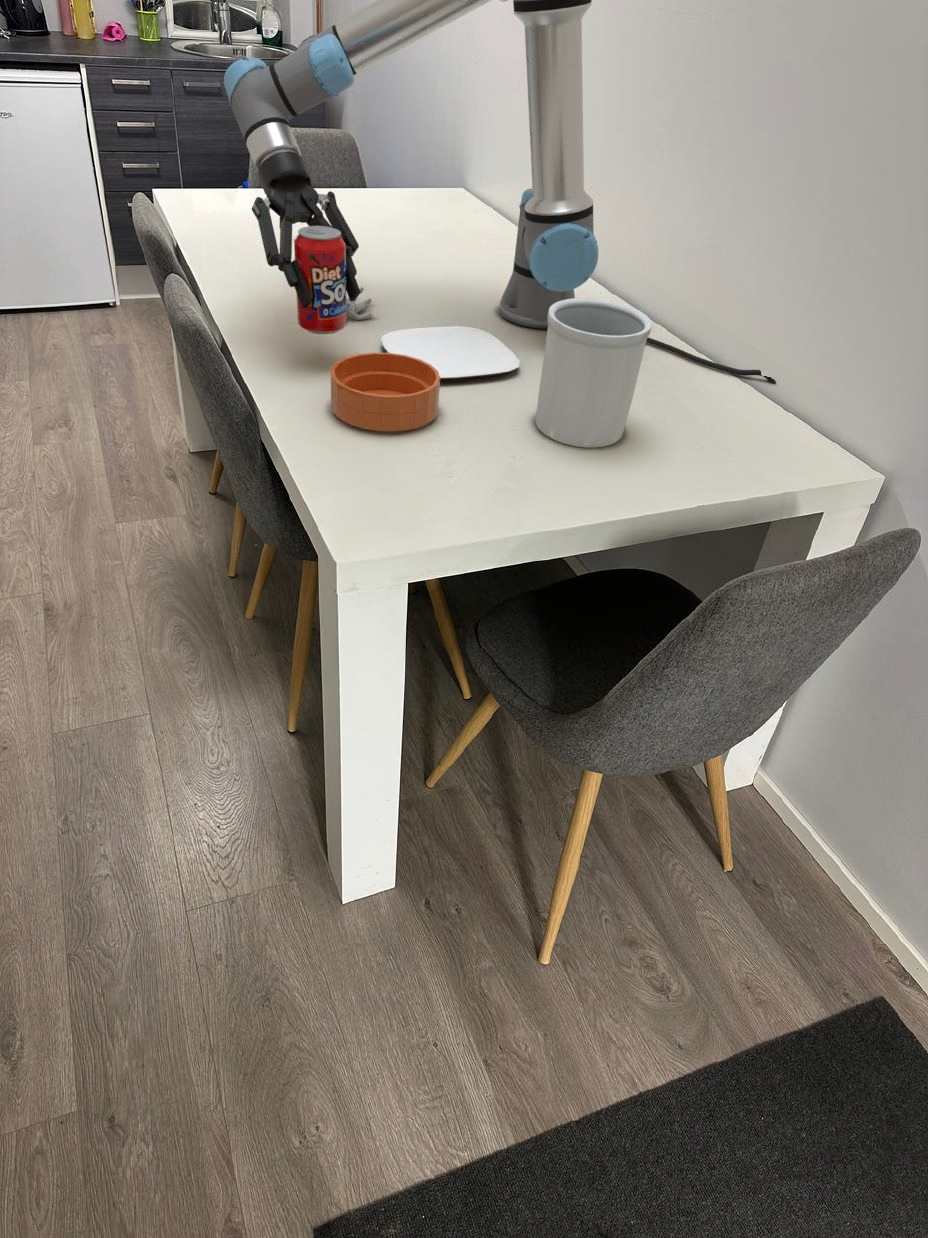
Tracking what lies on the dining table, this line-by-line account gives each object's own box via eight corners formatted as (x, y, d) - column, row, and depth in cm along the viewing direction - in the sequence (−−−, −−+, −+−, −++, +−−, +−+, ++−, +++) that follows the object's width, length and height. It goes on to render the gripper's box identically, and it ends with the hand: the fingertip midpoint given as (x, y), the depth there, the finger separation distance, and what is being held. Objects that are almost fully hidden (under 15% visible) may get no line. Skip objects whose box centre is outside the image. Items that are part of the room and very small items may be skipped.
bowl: (445, 397, 139) (448, 360, 135) (426, 442, 126) (428, 403, 123) (346, 382, 140) (346, 346, 136) (318, 425, 128) (317, 387, 124)
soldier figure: (382, 313, 169) (372, 313, 158) (363, 329, 171) (351, 330, 159) (356, 279, 167) (344, 277, 156) (337, 295, 169) (324, 294, 157)
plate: (370, 339, 155) (370, 330, 154) (480, 331, 163) (481, 322, 162) (413, 389, 140) (413, 379, 139) (532, 378, 148) (533, 368, 147)
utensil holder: (643, 447, 131) (670, 333, 120) (552, 453, 127) (571, 336, 116) (604, 405, 142) (625, 296, 131) (518, 409, 138) (533, 298, 127)
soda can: (305, 317, 145) (301, 221, 136) (351, 322, 144) (351, 227, 135) (291, 333, 139) (287, 234, 129) (339, 339, 138) (338, 241, 129)
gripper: (329, 174, 144) (379, 303, 144) (211, 182, 134) (264, 321, 134) (345, 145, 138) (397, 280, 138) (222, 151, 127) (278, 297, 128)
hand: (332, 300), depth 136 cm, fingers closed on soda can, 8 cm apart
